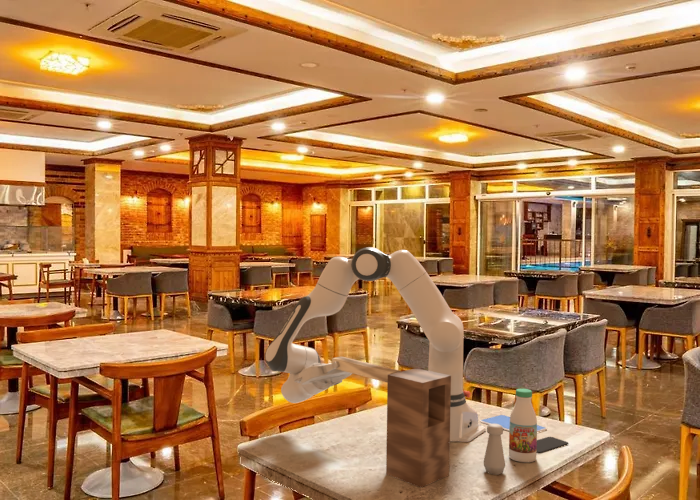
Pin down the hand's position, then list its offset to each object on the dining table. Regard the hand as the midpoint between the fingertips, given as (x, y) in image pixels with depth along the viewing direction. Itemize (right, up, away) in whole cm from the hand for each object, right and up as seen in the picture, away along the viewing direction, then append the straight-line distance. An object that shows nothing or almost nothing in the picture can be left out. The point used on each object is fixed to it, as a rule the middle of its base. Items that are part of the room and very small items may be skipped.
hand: (344, 362), depth 186 cm
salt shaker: (+41, -27, -17) cm, 52 cm away
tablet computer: (+57, -27, +24) cm, 67 cm away
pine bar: (+6, -2, -6) cm, 9 cm away
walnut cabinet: (+20, -27, -20) cm, 39 cm away
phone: (+62, -27, +5) cm, 68 cm away
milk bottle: (+52, -27, -7) cm, 59 cm away
